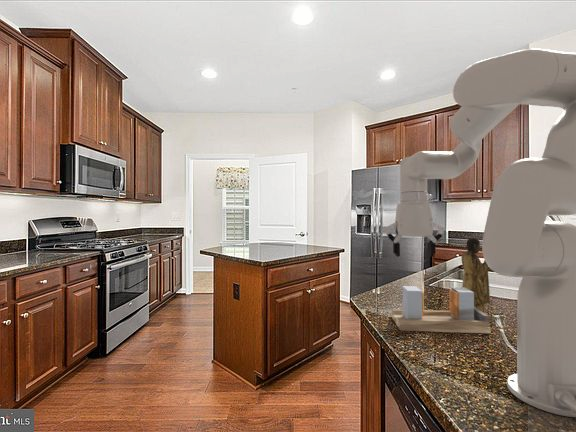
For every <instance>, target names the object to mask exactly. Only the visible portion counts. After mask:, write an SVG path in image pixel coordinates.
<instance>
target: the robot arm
mask: <svg viewBox="0 0 576 432" xmlns="http://www.w3.org/2000/svg"><path fill="white" fill-rule="evenodd" d="M452 89H453V90H452V92H453V93H452V95H453V96H452V97H453V99H454V101H455V102H456V104H457V105H459V106H460V108H459V109H458V110H457V111H456V112H455V113H454V114H453V115H452V116H451V118H450V120H449V129H450V131H451V132H452V134H453V135H454V136H455V138H456V139H458V140H459V141H460V143H459V144H458V145H457V146H455V148H454V149H453V150H451V151H437V150H436V151H435V150H434V151H432V150H431V151H429V150H422V151H420V150H419V151H417V152H414V153H413V154H412V155H411V156H405V157H404V158H402V159H400V163H399V179H400V180H399V181H400V182H399V184H400V185H399V188H400V189H399V190H400V191H399V193H400V194H399V196H400V199H399V200H400V201H399V203H397V205H396V211H395V219H394V220H395V221H394V222H393V223H391V224H389V225H387V226H386V227H384V228H383V231H384V232H385V235H386V237H387V238H388V239H389V240H390V241H391V242H392V243H393V244H392V252H393V253H392V254H394V256H396V257H398V258H399V257H401V249H400V248H401V244H400V243H399V241H401V239H402V238H403V237H406V238H409V237H410V238H417V237H418V238H419V237H420V238H422V237H423V238H424V237H425V238H427V240H428V242H427V256H429V257H432V258H434V256H435V254H436V244H437V243H438V241H439V240H440V239H441V238H442V236H443V234H444V233H445V231H446V228H445V227H443V226H442V225H439V224H437V223H436V222H434V221H433V213H432V208H431V203H430V202H429V200H433V194H430V193H429V192H428V180H452V179H455V178H457V177H459V176H460V175H462V174H463V173H465V171H467V170H468V169H469V168H470V167H471V166H473V165H474V164H475V162H476V161H477V160H478V158H479V155H480V152H481V151H482V150H481V149H482V146H483V145H482V144H483V141H482V140H483V139H484V138H485V137H486V136H487V135H488V134H489V133H490V132H491V131H492V130H493V129H495V127H496V126H498V125H499V124H500V123H501V122H502V121H503V120H504V119H505V118H506V117H508V116H509V115H510V114H511V113H512V112H513V111H514V110H515V109H516V108H517V107H518V106H519V105H527V106H536V107H537V106H540V107H551V108H553V107H554V108H560V109H563V110H564V111H563V112H562V114H561V115H560V116H559V117H558V118H557V119H556V121H554V123H553V125H552V127H551V128H550V130H549V133H548V135H547V138H546V141H545V142H546V143H545V147H544V149H543V153H542V156H541V158H540V157H528V158H523V159H519V160H516V161H514V162H512V163H511V164H509V165H508V166H507V167H506V168H505V169H504V170H503V171H501V173H500V175H499V176H498V177H497V179H496V181H495V184H494V185H493V186H494V187H493V190H492V194H491V199H490V203H489V207H488V213H487V215H486V217H487V218H486V221H485V226H484V231H483V235H482V236H483V237H482V243H481V245H482V247H481V249H482V256H483V258H484V260H485V261H486V263H487V265H488V268H489V269H490V270H492V271H493V272H494V273H496V274H498V275H500V276H503V277H509V278H521V280H520V283H519V285H518V290H517V298H516V301H517V304H516V305H517V306H516V312H517V313H516V349H517V350H516V356H517V357H516V361H517V362H516V365H517V366H516V367H517V368H516V373H514V374H511V375H509V376H508V378H507V380H506V381H507V382H506V386H507V388H508V391H510V393H511V394H512V395H514V396H515V397H516V398H517V399H518V400H520V401H522V402H523V403H526V404H527V405H529V406H531V407H533V408H536V409H538V410H542V411H545V412H547V413H550V414H555V415H558V416H563V417H569V418H576V225H574V224H571V223H570V222H564V221H559V220H558V221H557V220H547V217H549V216H551V217H552V216H555V217H556V216H573V215H576V52H564V51H559V50H558V51H557V50H550V49H545V48H543V49H541V48H528V49H527V48H526V49H521V50H517V51H513V52H509V53H506V54H505V53H504V54H502V55H498V56H494V57H490V58H488V59H486V58H485V59H484V60H480V61H477V62H475V63H472V64H471V65H469V66H468V67H466V68H465V69H464V70H463V71H462V72H461V73H460V74H459V76H458V77H457V79H456V81H455V83H454V85H453V88H452ZM434 229H436V230H437V233H435V234H434ZM391 230H394V233H395V235H392V233H391ZM433 234H434V235H433Z"/></svg>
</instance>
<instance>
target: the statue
mask: <svg viewBox="0 0 576 432" xmlns="http://www.w3.org/2000/svg"><path fill="white" fill-rule="evenodd" d="M466 248H467V250H466V251H465V252H463V253H462V255H461V257H460V258H461V265H462V268H463V276H462V283H461V284H462V285H461V286H462V287H465V288H467V289H469V290H470V291H472V292H474V307H475V308H477V309H479V310H480V311H482V312H483V313H485V314H486V315H488V312H487V311H486V308H485V305H486V304H490V303H491V295H490V282H489V281H490V280H489V266H488V265H487V263H486V261H485V259H484V261H483V262H481V259H480V258H479V255H477V254H478V253H479V252H480V250H481V241H480V240H479V239H478V238H477V237H474V236H473V237H469V238H467V240H466Z"/></svg>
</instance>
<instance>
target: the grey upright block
mask: <svg viewBox="0 0 576 432" xmlns="http://www.w3.org/2000/svg"><path fill="white" fill-rule="evenodd" d="M424 294H425V293H424V291H423V290H421V289H420V288H419V287H418V286H415V285H413V286H412V285H411V286H410V285H403V286H402V310H403V316H404V317H405V319H422V317H424V310H425V307H424V305H425V304H424V302H425V300H424V298H425V295H424Z"/></svg>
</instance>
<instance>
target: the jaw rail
mask: <svg viewBox="0 0 576 432" xmlns="http://www.w3.org/2000/svg"><path fill="white" fill-rule="evenodd" d="M448 300H449V302H448V303H449V307H448V308H449V310H439V309H438V310H436V309H435V310H434V309H433V310H431V309H428V310H427V309H424V317H422V319H405V317H404V316H403V309H394V308H393V309H391V318H392V320H393V322H394V323H395V324H396V326H397V327H398V329H399V331H404V332H405V331H406V332H408V331H410V332H411V331H412V332H437V333H438V332H439V333H463V334H464V333H465V334H466V333H467V334H491V332H492V331H491V327H490V318H489V317H490V316H489V315H488V314H487V315H486V314H485V313H483V312H482V311H480V310H479V309H477V308H475V307H474V292H472V291H470V290H469V289H467V288H465V287H458V286H457V287H455V286H452V287H450V288H449V297H448Z"/></svg>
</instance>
